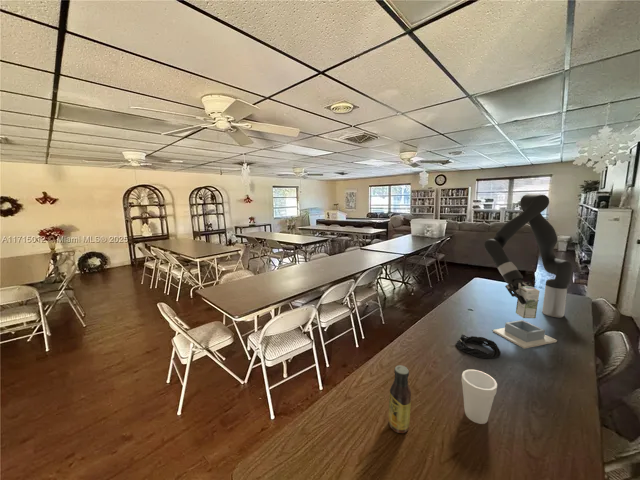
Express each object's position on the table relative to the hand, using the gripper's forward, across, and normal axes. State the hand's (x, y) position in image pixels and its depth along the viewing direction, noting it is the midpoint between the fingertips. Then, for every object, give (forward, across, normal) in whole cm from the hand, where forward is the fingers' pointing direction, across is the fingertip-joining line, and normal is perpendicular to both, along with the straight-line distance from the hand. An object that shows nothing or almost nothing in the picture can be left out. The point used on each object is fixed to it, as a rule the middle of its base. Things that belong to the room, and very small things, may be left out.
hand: (530, 302), depth 123 cm
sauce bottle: (+33, -87, -6) cm, 93 cm away
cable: (+15, -31, +12) cm, 36 cm away
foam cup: (+35, -61, -8) cm, 71 cm away
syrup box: (+4, 0, +6) cm, 8 cm away
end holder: (+12, 0, +14) cm, 18 cm away
